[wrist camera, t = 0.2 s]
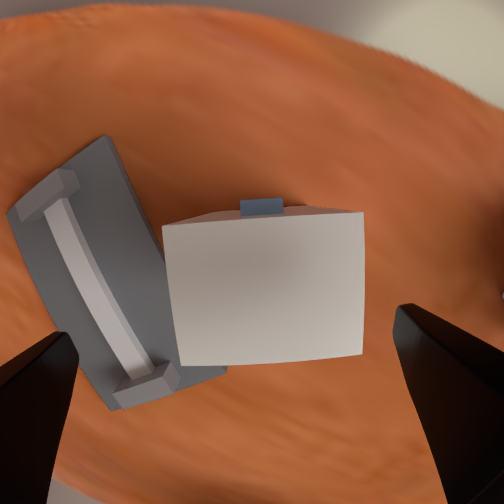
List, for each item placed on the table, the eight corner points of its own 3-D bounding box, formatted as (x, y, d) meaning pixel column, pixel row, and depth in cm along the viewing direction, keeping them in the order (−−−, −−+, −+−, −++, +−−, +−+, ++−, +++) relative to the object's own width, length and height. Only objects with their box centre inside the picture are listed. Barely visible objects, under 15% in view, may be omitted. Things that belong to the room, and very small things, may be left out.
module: (311, 275, 23) (361, 354, 11) (220, 281, 23) (180, 365, 11) (307, 196, 22) (362, 193, 10) (214, 203, 22) (160, 207, 10)
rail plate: (227, 366, 24) (222, 389, 21) (114, 405, 25) (100, 426, 22) (110, 136, 22) (89, 128, 18) (12, 212, 23) (-12, 215, 19)
